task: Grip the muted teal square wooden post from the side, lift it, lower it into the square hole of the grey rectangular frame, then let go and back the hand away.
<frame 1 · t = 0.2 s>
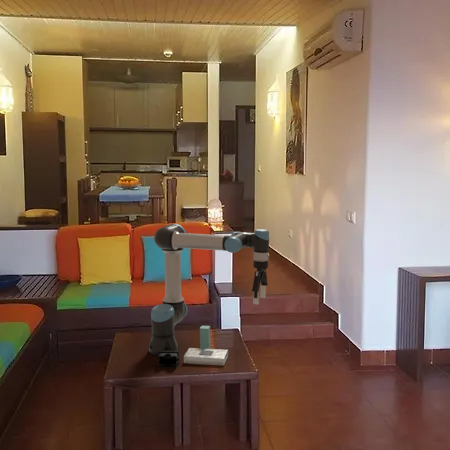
hand: (259, 301, 290), 27 cm above the table, tool pointing down, fingers open, 13 cm apart
teal post: (205, 349, 299), on the table
grey rectangular frame: (206, 359, 284), on the table
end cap: (168, 365, 278), on the table
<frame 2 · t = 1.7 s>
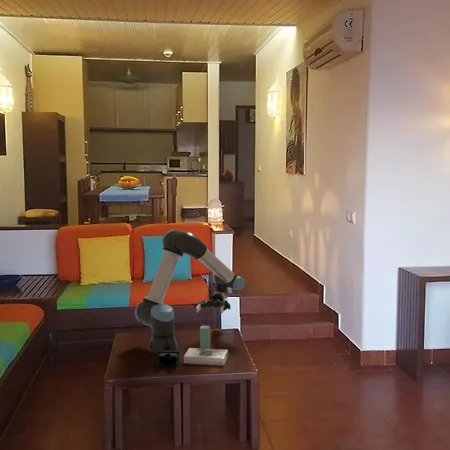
hand: (209, 310, 306), 18 cm above the table, tool horizontal, fingers open, 13 cm apart
nothing on the table moved.
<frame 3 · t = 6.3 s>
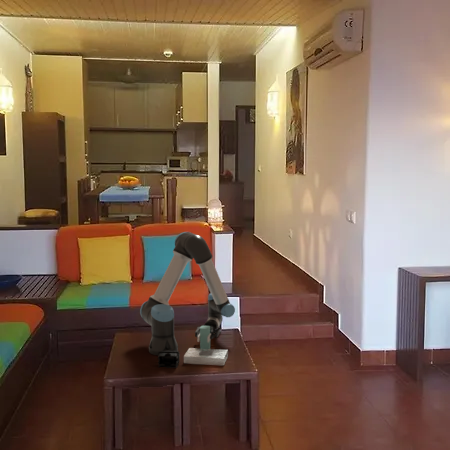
hand: (203, 339, 293), 7 cm above the table, tool horizontal, fingers closed on teal post, 4 cm apart
teal post: (205, 349, 299), on the table, touching gripper
everything else where it was.
when the fingers open (9 cm above the table, at t = 10.7 s): teal post drops 2 cm, resting in grey rectangular frame.
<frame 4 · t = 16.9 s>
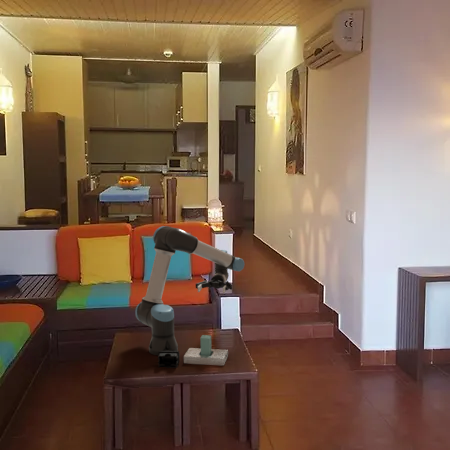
hand: (210, 290, 302), 30 cm above the table, tool horizontal, fingers open, 13 cm apart
teal post: (206, 359, 284), resting in grey rectangular frame
everything else where it was.
at the end: teal post 0.0 cm off-centre on the grey rectangular frame, point 0.0 cm above the grey rectangular frame's base; teal post tilted 0°; the gripper is holding nothing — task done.
